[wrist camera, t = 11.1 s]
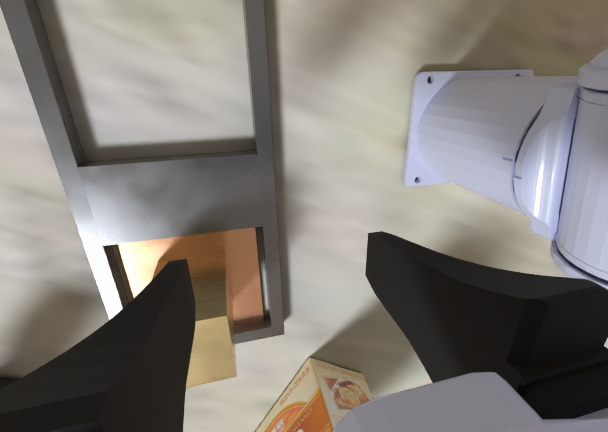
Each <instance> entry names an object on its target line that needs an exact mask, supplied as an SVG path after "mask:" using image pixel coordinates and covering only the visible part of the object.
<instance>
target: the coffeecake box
mask: <svg viewBox="0 0 608 432" xmlns="http://www.w3.org/2000/svg"><path fill="white" fill-rule="evenodd" d="M372 399H374V397H373V395H372V393H371V391H370V389H369V387H368V385H367V383H366V381H365V379H364V377H363V374H362V373H359V372H355V371H352V370H348V369H344V368H341V367H338V366H335V365H332V364H330V363H327V362H324V361H320V360H317V359H314V358H308V360H307V361H306V362H305V364H304V365H303V366H302V368H301V369H300V371H299V372H298V373H297V375H296V376H295V378H294V379H293V380H292V382H291V383H290V384H289V386H288V387H287V389H286V390H285V391H284V393H283V394H282V396H281V397H280V398H279V400H278V401H277V403H276V404H275V405H274V407H273V408H272V409H271V411H270V412H269V414H268V415H267V416H266V418H265V419H264V421H263V422H262V423H261V425H260V426H259V427H258V429H257V430H256V432H333V430H334V428H335V426H336V424H337V423H338V422H339V421H340V420H341V419H342V418H343V417H344V416H345V415H347V414H348V413H349V412H350V411H351V410H352V409H353V408H355V407H357V406H359V405H361V404H364V403H366V402H368V401H370V400H372Z"/></svg>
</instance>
